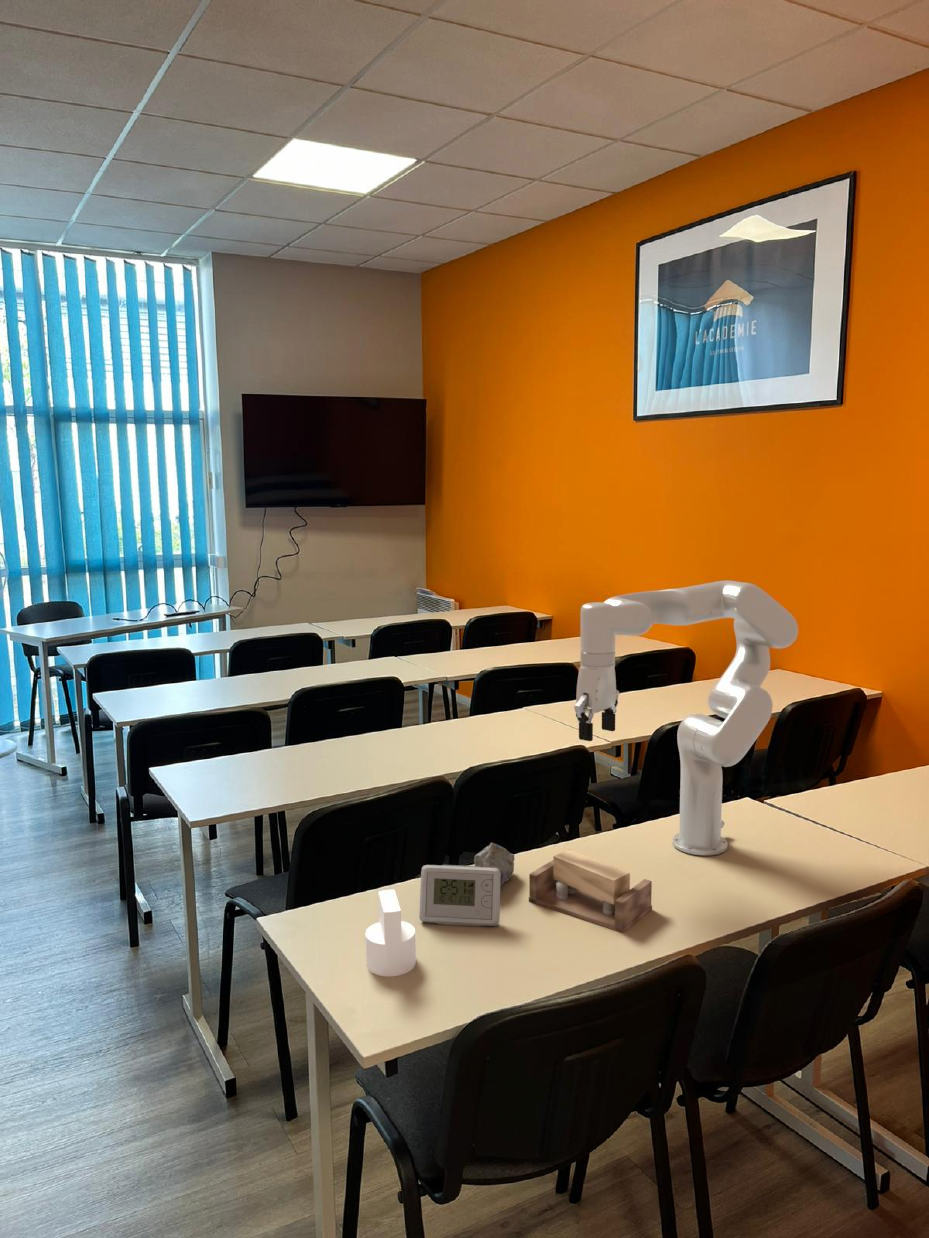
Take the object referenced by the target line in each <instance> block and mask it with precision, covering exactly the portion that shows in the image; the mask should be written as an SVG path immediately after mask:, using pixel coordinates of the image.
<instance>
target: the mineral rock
mask: <svg viewBox="0 0 929 1238" xmlns="http://www.w3.org/2000/svg"><path fill="white" fill-rule="evenodd" d="M514 861H515V854H513V853H510V851H508V849H506V848H505V847H503V846H501V845H499V844H497V843H494V842H490V844H489V845H487V846H486V847H484V848H483V849H482V850H481V851H479V852H478V853H476V854H475V855H474V859H473V862H474V865H473V866H480V867H484V868H497V869H499V870H500V874H501V882H500V887H501V886H502V885H504V883H505V882H506V881H508V880H510V879H511V878H512V876H513V874H514V871H515V862H514Z"/></svg>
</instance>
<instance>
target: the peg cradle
mask: <svg viewBox="0 0 929 1238" xmlns="http://www.w3.org/2000/svg"><path fill="white" fill-rule="evenodd" d="M528 879H529V881H528V882H529V890H528V891H529V897H528V902H530V903H534V904H536V905H538V906H541V907H545V908H548V909H551V910H553V911H557V912H561V913H563V914H565V915H569V916H572V917H575V918H578V919H581V920H584V921H587V922H590V923H593V924H596V925H599V926H600V927H601V926H602V927H605V928H608V929H611V930H614V931H617V932H620V933H625V932H626V931H627V930H629V929H630V928H631V927H632V926H633V925H635V924H636V923H637V922H638V921H640V920H641V919H642V918H643V917H645V916H646V915H647V914H649V913H650V912H651V911H652V910H653V905H652V894H653V893H652V886H653V885H652V884H653V883H652V880H650V879H646V878H643V879H642V880H641V881H640V882H639V883H637V884H636V885H634V886H633V887H631V888H630V890H629V891H628V892H626V893H625V894H623V895H622V896H621V897H619V898H618V899H617V900H615V904H614V905H613V904H611V903H608V902H606V901H604V900H601V899H599V898H597V897H594V896H592V895H590V894H587V893H585V892H583V891H580V890H578V889H576V888H573V887H571V886H569V885H566V884H564V883H562V882H559V881H557V880H555V879H554V872H553V859H551V860H550V861H548V862H547V863H546V864H544V865H542V866H541V867H539V868H537V869H536V870H533V871H532V872H530V873H529V877H528Z"/></svg>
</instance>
